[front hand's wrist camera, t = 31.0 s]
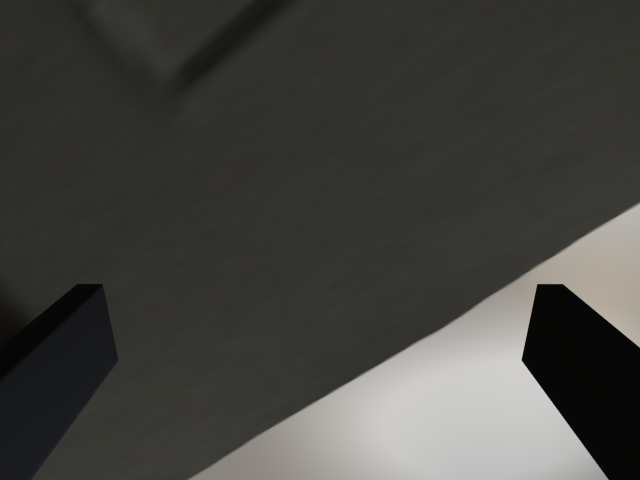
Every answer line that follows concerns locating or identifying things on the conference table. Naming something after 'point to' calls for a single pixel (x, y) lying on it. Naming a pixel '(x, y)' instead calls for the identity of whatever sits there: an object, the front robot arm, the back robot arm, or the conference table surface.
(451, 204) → the conference table surface
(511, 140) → the conference table surface
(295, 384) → the conference table surface
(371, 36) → the conference table surface
